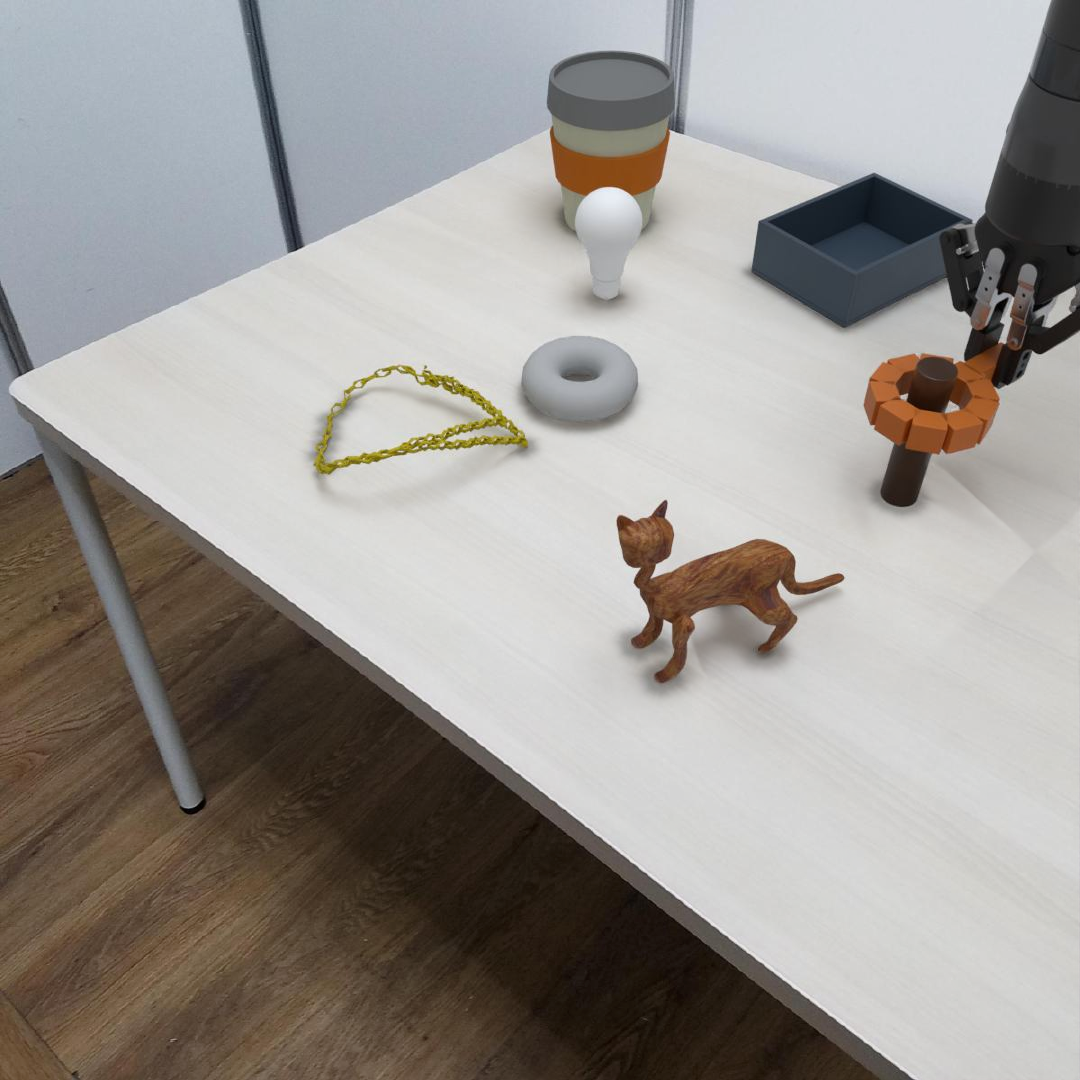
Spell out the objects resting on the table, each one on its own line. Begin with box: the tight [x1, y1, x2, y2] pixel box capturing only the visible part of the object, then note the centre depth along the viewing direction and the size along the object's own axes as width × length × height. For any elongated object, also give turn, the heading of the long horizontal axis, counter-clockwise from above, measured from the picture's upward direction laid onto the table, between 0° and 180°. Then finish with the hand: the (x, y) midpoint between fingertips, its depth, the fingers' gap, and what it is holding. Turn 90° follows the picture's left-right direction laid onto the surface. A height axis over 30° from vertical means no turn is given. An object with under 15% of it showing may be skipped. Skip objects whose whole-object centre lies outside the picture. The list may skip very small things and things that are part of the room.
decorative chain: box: [312, 364, 529, 476], centre depth 86 cm, size 16×15×5 cm
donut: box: [520, 335, 639, 423], centre depth 91 cm, size 10×4×10 cm
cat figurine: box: [616, 499, 846, 684], centre depth 68 cm, size 18×7×14 cm, turn 114°
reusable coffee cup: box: [546, 50, 676, 233], centre depth 108 cm, size 12×13×15 cm
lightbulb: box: [575, 187, 642, 301], centre depth 99 cm, size 6×6×11 cm
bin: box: [751, 172, 973, 328], centre depth 103 cm, size 16×12×6 cm
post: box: [879, 357, 958, 508], centre depth 78 cm, size 3×3×12 cm
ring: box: [863, 341, 1005, 455], centre depth 77 cm, size 13×9×2 cm
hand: (989, 375), depth 79 cm, fingers closed on ring, 1 cm apart
